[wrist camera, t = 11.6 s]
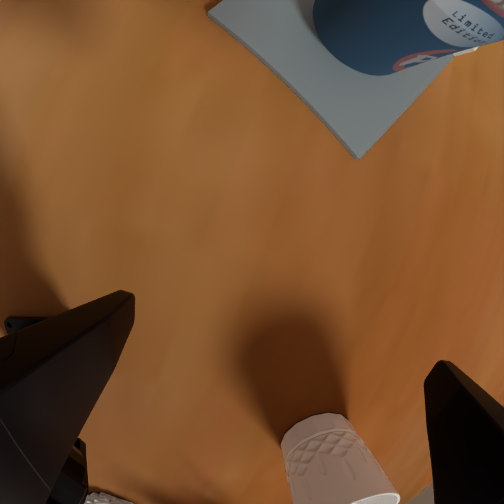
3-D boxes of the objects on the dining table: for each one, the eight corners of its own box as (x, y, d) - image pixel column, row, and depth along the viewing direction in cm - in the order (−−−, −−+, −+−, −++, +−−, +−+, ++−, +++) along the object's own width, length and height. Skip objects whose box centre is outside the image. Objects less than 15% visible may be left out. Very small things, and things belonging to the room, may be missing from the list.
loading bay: (355, 159, 19) (379, 160, 16) (207, 15, 15) (208, -7, 12) (457, 49, 18) (481, 42, 15) (347, -68, 14) (362, -86, 11)
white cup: (259, 457, 25) (281, 545, 16) (300, 401, 24) (341, 498, 14) (327, 462, 27) (359, 536, 18) (369, 411, 26) (419, 487, 16)
